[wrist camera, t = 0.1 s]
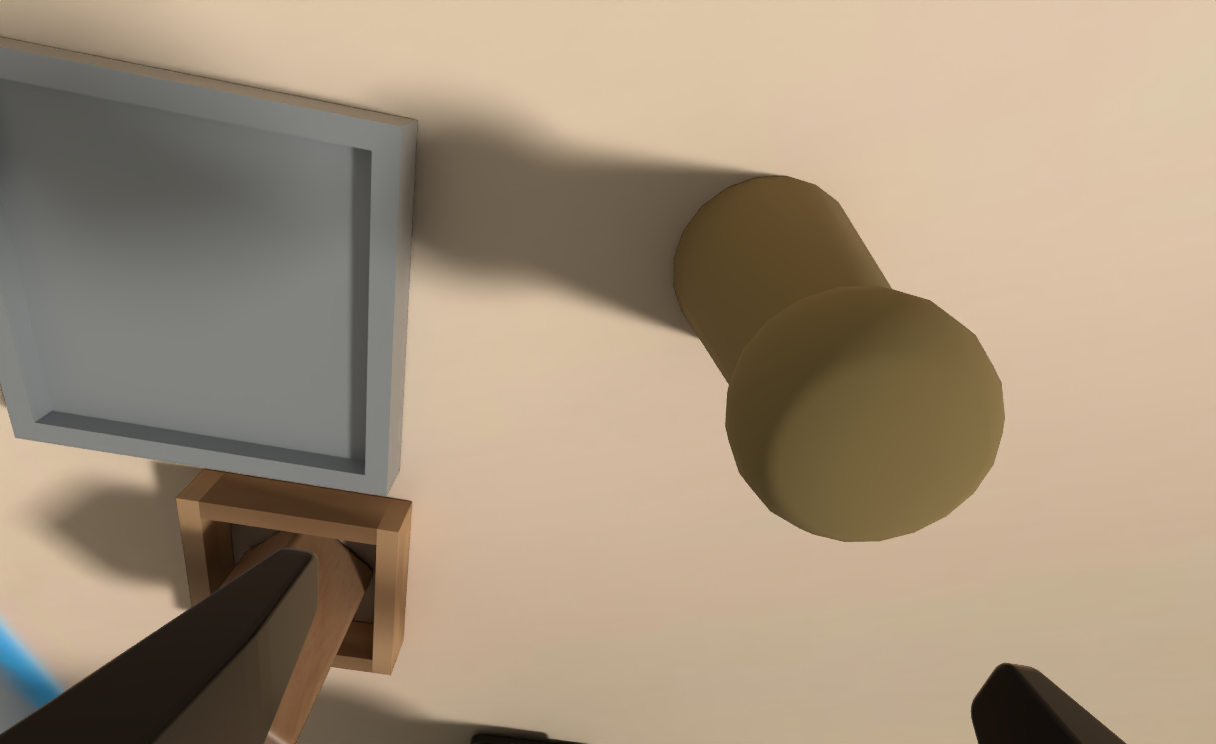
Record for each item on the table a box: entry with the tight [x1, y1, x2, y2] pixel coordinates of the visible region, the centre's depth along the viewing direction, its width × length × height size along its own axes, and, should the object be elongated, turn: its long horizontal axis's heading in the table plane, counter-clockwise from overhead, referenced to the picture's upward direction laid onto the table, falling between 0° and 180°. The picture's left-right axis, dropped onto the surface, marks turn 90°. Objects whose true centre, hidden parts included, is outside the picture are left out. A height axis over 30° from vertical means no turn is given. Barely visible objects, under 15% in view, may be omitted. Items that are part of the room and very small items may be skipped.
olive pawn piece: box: [674, 176, 1005, 542], centre depth 16 cm, size 6×6×11 cm
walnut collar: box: [176, 469, 412, 675], centre depth 27 cm, size 8×8×2 cm
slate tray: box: [0, 37, 418, 496], centre depth 21 cm, size 13×13×2 cm
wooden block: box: [219, 531, 372, 744], centre depth 24 cm, size 4×4×8 cm
